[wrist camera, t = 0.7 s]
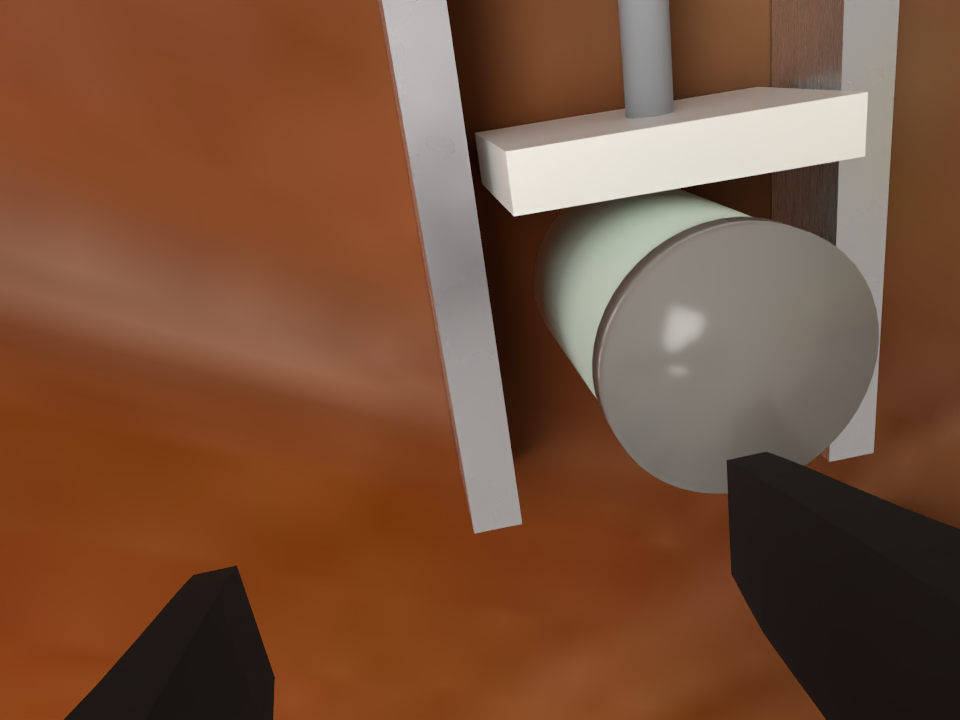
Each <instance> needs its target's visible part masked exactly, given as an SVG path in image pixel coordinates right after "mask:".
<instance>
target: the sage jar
mask: <svg viewBox="0 0 960 720" xmlns="http://www.w3.org/2000/svg"><path fill="white" fill-rule="evenodd" d="M533 287H534V295H535V300H536V304H537V307H538V310H539V313H540V315H541V317H542V319H543V321H544V323H545V325H546V326H547V328H548V329H549V331H550V332H551V334H552V335H553V336H554V338H555V339H556V341H557V342H558V344H559V345H560V347H561V348H562V349H563V351H564V352H565V354H566V355H567V357H568V358H569V360H570V361H571V362H572V364H573V365H574V367H575V368H576V370H577V371H578V373H579V374H580V375H581V377H582V378H583V380H584V381H585V383H586V384H587V386H588V387H589V388H590V390H591V391H592V393H593V394H594V396H595V397H596V399H597V401H598V404H599V407H600V410H601V412H602V414H603V416H604V418H605V420H606V422H607V424H608V425H609V427H610V428H611V430H612V431H613V432H614V434H615V435H616V437H617V438H618V440H619V441H620V443H621V444H622V446H623V447H624V449H625V450H626V451H627V453H628V454H629V455H630V456H631V457H632V458H633V459H634V461H635V462H636V463H637V464H638V465H639V466H641V467H642V468H643V469H644V470H646V471H647V472H648V473H650V474H651V475H652V476H654V477H656V478H658V479H660V480H661V481H663V482H665V483H668V484H670V485H673V486H675V487H678V488H681V489H685V490H690V491H694V492H701V493H711V494H715V493H728V484H727V461H726V460H730V459H734V458H739V457H744V456H748V455H753V454H757V453H762V452H769V453H772V454H775V455H777V456H780V457H783V458H785V459H788V460H790V461H793V462H795V463H798V464H800V465H803V466H805V465H806V464H808V463H809V462H810V461H812V460H813V459H814V458H815V457H817V456H818V455H819V454H820V453H822V452H823V451H824V450H825V449H826V448H827V447H828V446H829V445H830V444H831V443H832V442H833V441H834V440H835V439H836V438H837V437H838V436H839V435H840V433H841V432H842V431H843V430H844V429H845V427H846V426H847V425H848V424H849V422H850V421H851V419H852V418H853V416H854V414H855V413H856V411H857V410H858V408H859V406H860V404H861V402H862V400H863V399H864V397H865V395H866V393H867V390H868V387H869V385H870V382H871V379H872V377H873V373H874V369H875V365H876V361H877V354H878V346H879V323H878V317H877V310H876V306H875V303H874V299H873V296H872V293H871V291H870V289H869V287H868V284H867V282H866V280H865V278H864V277H863V275H862V274H861V272H860V271H859V269H858V268H857V267H856V265H855V264H854V263H853V262H852V261H851V260H850V259H849V258H848V257H847V256H846V255H845V254H844V252H842V251H841V250H840V249H838V248H837V247H836V246H834V245H833V244H831V243H830V242H828V241H826V240H825V239H823V238H821V237H819V236H817V235H815V234H812V233H810V232H807V231H804V230H802V229H799V228H796V227H794V226H791V225H788V224H785V223H782V222H779V221H776V220H772V219H766V218H760V217H751V216H749V215H746V214H744V213H741V212H738V211H736V210H733V209H731V208H728V207H725V206H723V205H720V204H718V203H715V202H712V201H710V200H707V199H705V198H702V197H700V196H697V195H694V194H692V193H689V192H687V191H684V190H681V189H679V188H678V189H672V190H666V191H660V192H654V193H649V194H643V195H637V196H631V197H625V198H619V199H614V200H608V201H602V202H596V203H590V204H584V205H579V206H573V207H567V208H564V209H562V211H561V212H560V213H559V214H558V215H557V216H556V218H555V219H554V220H553V222H552V223H551V225H550V226H549V228H548V229H547V231H546V233H545V235H544V237H543V239H542V241H541V243H540V246H539V249H538V252H537V255H536V260H535V264H534V274H533Z"/></svg>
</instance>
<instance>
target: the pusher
mask: <svg viewBox="0 0 960 720" xmlns="http://www.w3.org/2000/svg"><path fill="white" fill-rule="evenodd" d="M618 10H619V24H620V39H621V54H622V68H623V83H624V98H625V108H624V109H618V110H612V111H606V112H600V113H593V114H587V115H581V116H575V117H569V118H563V119H556V120H550V121H544V122H538V123H532V124H526V125H520V126H513V127H507V128H501V129H495V130H489V131H483V132H476V133H475V139H476V146H477V153H478V160H479V167H480V174H481V181H482V185H483V186H484V187H485V188H486V189H487V190H488V191H489V192H490V193H491V194H492V195H493V196H494V197H495V198H496V199H497V200H498V201H499V202H500V203H501V204H502V205H503V206H504V207H505V208H506V209H507V210H508V211H509V212H510V213H511V214H512V215H513V216H520V215H526V214H532V213H538V212H544V211H549V210H555V209H561V208H567V207H573V206H579V205H584V204H590V203H596V202H602V201H608V200H614V199H619V198H625V197H631V196H637V195H643V194H649V193H654V192H660V191H666V190H672V189H678V188H684V187H690V186H695V185H701V184H707V183H713V182H719V181H725V180H730V179H736V178H742V177H748V176H754V175H760V174H765V173H771V172H777V171H783V170H789V169H795V168H800V167H806V166H812V165H818V164H824V163H830V162H835V161H841V160H847V159H853V158H859V157H865V148H866V126H867V104H868V92H860V91H839V90H817V89H795V88H773V87H754V88H747V89H741V90H735V91H729V92H723V93H717V94H710V95H704V96H698V97H692V98H686V99H680V100H673V78H672V56H671V34H670V12H669V0H618Z"/></svg>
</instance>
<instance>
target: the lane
mask: <svg viewBox="0 0 960 720" xmlns="http://www.w3.org/2000/svg"><path fill="white" fill-rule="evenodd" d="M899 1H900V0H772V87H773V88H795V89H817V90H839V91H860V92H868V104H867V126H866V148H865V157H859V158H853V159H847V160H841V161H835V162H830V163H824V164H818V165H812V166H806V167H800V168H795V169H789V170H783V171H777V172H772V220H776V221H779V222H782V223H785V224H788V225H791V226H794V227H796V228H799V229H802V230H804V231H807V232H810V233H812V234H815V235H817V236H819V237H821V238H823V239H825V240H826V241H828V242H830V243H831V244H833V245H834V246H836V247H837V248H838V249H840V250H841V251H842V252H844V254H845V255H846V256H847V257H848V258H849V259H850V260H851V261H852V262H853V263H854V264H855V265H856V267H857V268H858V269H859V271H860V272H861V274H862V275H863V277H864V278H865V280H866V282H867V284H868V287H869V289H870V291H871V293H872V296H873V299H874V303H875V306H876V310H877V317H878V323H879V346H878V354H877V361H876V365H875V369H874V373H873V377H872V379H871V382H870V385H869V387H868V390H867V393H866V395H865V397H864V399H863V400H862V402H861V404H860V406H859V408H858V410H857V411H856V413H855V414H854V416H853V418H852V419H851V421H850V422H849V424H848V425H847V426H846V427H845V429H844V430H843V431H842V432H841V433H840V435H839V436H838V437H837V438H836V439H835V440H834V441H833V442H832V443H831V444H830V445H829V446H828V447H827V448H826V449H825V450H824V451H823V452H822V453H820V454H821V455H822V456H823V457H824V458H825V459H826V460H828V461H829V462H831V461H836V460H841V459H846V458H851V457H856V456H861V455H866V454H871V453H874V437H875V420H876V402H877V385H878V367H879V350H880V333H881V315H882V298H883V280H884V263H885V245H886V228H887V210H888V193H889V176H890V158H891V141H892V123H893V106H894V88H895V71H896V53H897V36H898V19H899ZM378 4H379V10H380V16H381V21H382V27H383V33H384V38H385V44H386V50H387V55H388V61H389V67H390V73H391V78H392V84H393V90H394V95H395V101H396V107H397V113H398V118H399V124H400V130H401V135H402V141H403V147H404V153H405V158H406V164H407V170H408V175H409V181H410V187H411V192H412V198H413V204H414V210H415V215H416V221H417V227H418V232H419V238H420V244H421V250H422V255H423V261H424V267H425V272H426V278H427V284H428V290H429V295H430V301H431V307H432V312H433V318H434V324H435V330H436V335H437V341H438V347H439V352H440V358H441V364H442V369H443V375H444V381H445V387H446V392H447V398H448V404H449V409H450V415H451V421H452V427H453V432H454V438H455V444H456V449H457V455H458V461H459V467H460V472H461V477H462V481H463V486H464V490H465V495H466V499H467V503H468V508H469V512H470V517H471V521H472V525H473V530H474V533H479V532H484V531H489V530H494V529H499V528H504V527H509V526H514V525H519V524H522V520H521V513H520V506H519V499H518V492H517V485H516V478H515V471H514V464H513V458H512V451H511V444H510V437H509V430H508V423H507V416H506V409H505V402H504V395H503V388H502V381H501V375H500V368H499V361H498V354H497V347H496V340H495V333H494V326H493V319H492V312H491V305H490V299H489V292H488V285H487V278H486V271H485V264H484V257H483V250H482V243H481V236H480V229H479V222H478V216H477V209H476V202H475V195H474V188H473V181H472V174H471V167H470V160H469V153H468V146H467V139H466V133H465V126H464V119H463V112H462V105H461V98H460V91H459V84H458V77H457V70H456V63H455V57H454V50H453V43H452V36H451V29H450V22H449V15H448V8H447V1H446V0H378Z"/></svg>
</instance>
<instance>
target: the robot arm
mask: <svg viewBox="0 0 960 720" xmlns="http://www.w3.org/2000/svg"><path fill="white" fill-rule="evenodd" d="M726 461H727V484H728V506H729V528H730V551H731V573H732V576H733V577H734V579H735V581H736V583H737V585H738V587H739V589H740V591H741V593H742V595H743V596H744V598H745V600H746V602H747V604H748V606H749V608H750V610H751V611H752V613H753V615H754V617H755V618H756V620H757V622H758V624H759V626H760V627H761V629H762V631H763V633H764V634H765V635H766V637H767V638H768V640H769V641H770V643H771V644H772V645H773V647H774V648H775V650H776V651H777V652H778V654H779V655H780V657H781V658H782V659H783V661H784V662H785V664H786V665H787V666H788V668H789V669H790V670H791V672H792V673H793V675H794V676H795V677H796V679H797V680H798V682H799V683H800V684H801V686H802V687H803V688H804V690H805V691H806V692H807V694H808V695H809V697H810V698H811V699H812V701H813V702H814V703H815V705H816V706H817V707H818V709H819V710H820V712H821V713H822V714H823V716H824V717H825V718H826V720H960V529H958V528H955V527H952V526H950V525H947V524H944V523H941V522H939V521H936V520H933V519H930V518H928V517H925V516H923V515H920V514H918V513H915V512H912V511H910V510H907V509H905V508H902V507H900V506H897V505H895V504H892V503H890V502H888V501H885V500H883V499H880V498H878V497H876V496H873V495H871V494H868V493H866V492H864V491H861V490H859V489H857V488H854V487H852V486H849V485H847V484H845V483H842V482H840V481H838V480H835V479H833V478H831V477H829V476H826V475H824V474H822V473H819V472H817V471H815V470H812V469H810V468H807V467H805V466H803V465H800V464H798V463H795V462H793V461H790V460H788V459H785V458H783V457H780V456H777V455H775V454H772V453H769V452H762V453H757V454H753V455H748V456H744V457H739V458H734V459H730V460H726ZM274 678H275V677H274V674H273V671H272V668H271V665H270V662H269V659H268V656H267V654H266V651H265V648H264V645H263V642H262V639H261V636H260V633H259V630H258V627H257V624H256V621H255V618H254V615H253V612H252V609H251V606H250V603H249V600H248V597H247V595H246V592H245V589H244V586H243V583H242V580H241V577H240V574H239V571H238V568H237V566H233V567H229V568H224V569H219V570H215V571H210V572H205V573H201V574H196V575H193V576H192V577H191V578H190V579H189V580H188V581H187V582H186V583H185V584H184V586H183V587H182V588H181V589H180V590H179V591H178V592H177V593H176V595H175V596H174V597H173V598H172V599H171V600H170V601H169V603H168V604H167V605H166V606H165V607H164V608H163V610H162V611H161V612H160V613H159V614H158V615H157V617H156V618H155V619H154V620H153V621H152V622H151V624H150V625H149V626H148V627H147V628H146V629H145V631H144V632H143V633H142V634H141V635H140V636H139V638H138V639H137V640H136V641H135V642H134V643H133V644H132V646H131V647H130V648H129V649H128V650H127V651H126V652H125V654H124V655H123V656H122V657H121V658H120V659H119V660H118V662H117V663H116V664H115V665H114V666H113V667H112V668H111V670H110V671H109V672H108V673H107V674H106V675H105V676H104V678H103V679H102V680H101V681H100V682H99V683H98V684H97V685H96V686H95V687H94V688H93V689H92V691H91V692H90V693H89V694H88V695H87V696H86V697H85V698H84V699H83V700H82V701H81V702H80V703H79V704H78V705H77V706H76V707H75V708H74V710H73V711H72V712H71V713H70V714H69V715H68V716H67V717H66V718H65V719H64V720H273V706H274Z"/></svg>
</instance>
